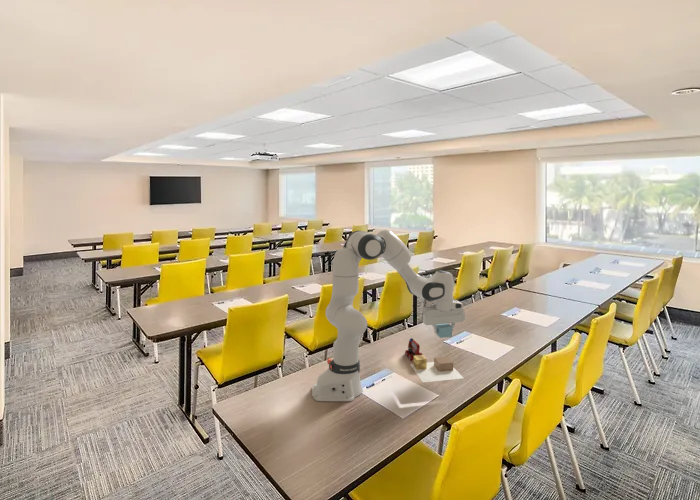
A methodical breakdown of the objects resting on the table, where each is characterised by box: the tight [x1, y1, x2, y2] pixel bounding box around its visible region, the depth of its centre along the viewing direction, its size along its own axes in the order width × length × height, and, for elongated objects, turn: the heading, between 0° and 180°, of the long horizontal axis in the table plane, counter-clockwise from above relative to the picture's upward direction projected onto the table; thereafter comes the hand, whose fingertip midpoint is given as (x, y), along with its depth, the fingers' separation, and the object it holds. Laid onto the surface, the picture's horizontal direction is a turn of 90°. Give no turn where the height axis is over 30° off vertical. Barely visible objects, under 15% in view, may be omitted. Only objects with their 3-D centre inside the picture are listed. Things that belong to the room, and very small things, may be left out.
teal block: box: [435, 323, 453, 339], centre depth 186 cm, size 6×6×5 cm
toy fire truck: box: [404, 338, 424, 362], centre depth 202 cm, size 7×12×10 cm, turn 12°
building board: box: [409, 356, 464, 384], centre depth 186 cm, size 20×19×5 cm
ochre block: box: [412, 354, 428, 370], centre depth 191 cm, size 5×5×5 cm
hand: (443, 331), depth 186 cm, fingers closed on teal block, 6 cm apart
